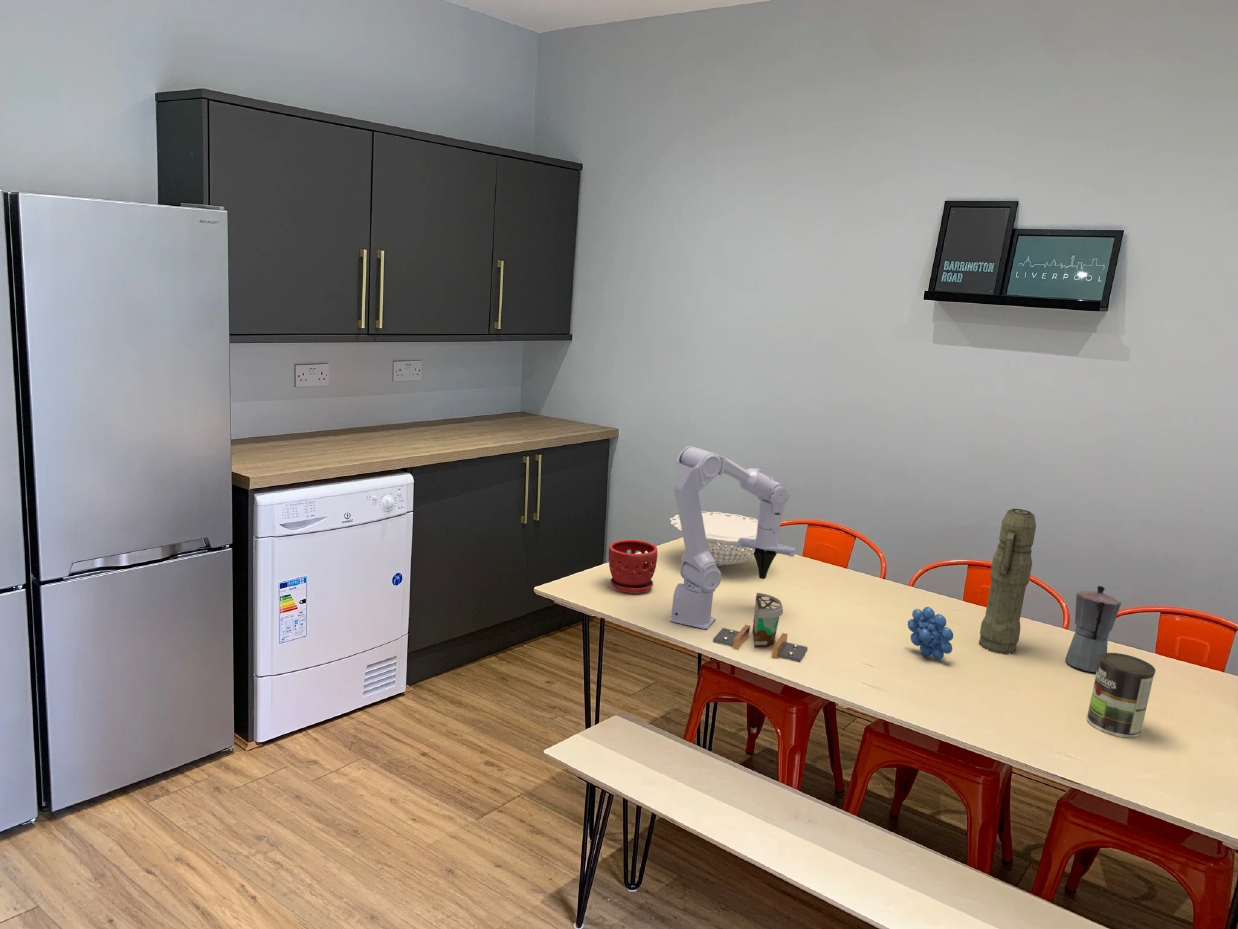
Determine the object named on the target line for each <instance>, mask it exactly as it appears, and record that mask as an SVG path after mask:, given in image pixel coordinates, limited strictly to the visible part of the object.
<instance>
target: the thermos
mask: <svg viewBox="0 0 1238 929" xmlns="http://www.w3.org/2000/svg"><path fill="white" fill-rule="evenodd" d="M1035 516H1036V515H1035V514H1034V513H1033V512H1031V511H1029V510H1026V509H1021V508H1011V509H1009V510H1007V511H1006V512H1005V514H1004V517H1003V518H1002V520H1001V526H1000V533H999V537H998V538H999V543H998V544H997V549H996V551H995V553H994V554H993V556H992V557H993V558H992V562H991V563H992V564H991V568H990V574H989V575H990V576H989V577H990V580H991V581H990V587H989V593H988V598H987V602H986V603H987V604H986V609H985V615H984V618H983V619H982V621H981V625H980V630H979V634H980V637H979V641H978V645H979V646H980V645H981V646H982V649H984V648H985V649H984V650H986V649H988V650H987V651H989V652H992V651H993V652H992V653H995V652H997V653H996V654H1000V653H1002V654H1001V655H1012V653H1013V652H1015V651H1016V652H1017V646H1018V642H1019V640H1020V634H1021V616H1022V609H1023V605H1024V599H1025V598H1024V597H1025V594H1026V588H1027V586H1028V585H1029V583H1030V577H1031V573H1032V572H1031V571H1032V568H1033V559H1032V546H1033V545H1034V539H1035V534H1036V528H1037V523H1036V517H1035ZM981 646H980V647H981ZM1016 652H1015V653H1016ZM1009 653H1010V654H1009ZM1013 654H1014V653H1013Z"/></svg>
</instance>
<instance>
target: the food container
mask: <svg viewBox="0 0 1238 929" xmlns="http://www.w3.org/2000/svg"><path fill="white" fill-rule="evenodd" d="M755 594H756V595H755V605H754V614H753V621H752V622H753V623H752V630H751V631H752V632H751V633H752V640H753V645H754V646H753V648H756V649H761V648H762V649H763V648H764V649H765V648H766V649H767V648H770V647H772V646H774V645H775V640H776V636H777V630H778V625H779V622H780V621H779V620H780V617H781V616H782V615H783V614H784V609H783V608H784V607H783V606H784V605H783V604H782V601H781V600H780V599H778V598H777V597H775V596H773V595H770V594H766V593H763V592H762V593H761V592H756V593H755Z"/></svg>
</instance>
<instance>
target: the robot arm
mask: <svg viewBox="0 0 1238 929" xmlns="http://www.w3.org/2000/svg"><path fill="white" fill-rule="evenodd" d="M675 462H676V467H677V470H676V474H675V475H676V477H675V481H674V485H673V486H674V496H675V500H676V506H677V507H676V508H677V511H678V515H679V517H680V523H681V528H682V531H681V533H682V538H683V539H682V540H683V543H684V550H685V551H684V553H683V554H682V555H681V556H680V559H681V564H680V570H679V573H680V576H681V578H682V579H683V583H677V584H676V586H675V588H674V592H673V596H672V605H671V606H672V607H671V616H670V618H669V621H670V622H672V623H676V624H681V625H686V626H690V627H695V628H699V629H703V630H707V629H708V628H709V627H710V626H711V625H712V624H713V623H714V622H715V621H716V617H713V616H712V608H713V607H712V606H713V599H714V592H716V589H717V588H718V587H719V586H720V584H721V582H722V572H721V570H720V569H719V568H718V565H717V564H716V561H715V560H714V558H713V557H712V555H711V554H712V553H711V554H710V553H709V551H708V546H707V540H706V534H705V529H704V523H703V517H702V513H703V512H701V511H702V507H701V500H700V495H699V494H700V493H699V492H701V490H703V489H704V488H706V486H708V485H709V484H710V483H711V482H712V481H713V480H714V479H716V477H717V476H718V475H719V476H722V475H723V474H724V475H726V476H728V477H731V478H733V479H734V480H736V481H739V486H740V488H741V489H743V491H745V492H747V493H750V494H751V495H752V496H755V497H757V499H758V500H760V502H759V509H758V510H759V511H758V519H757V520H758V526H757V534H756V539H746V538H740V539H738V547H747V549H749V548H750V549H751V550H752V549H755V552H753V553H754V555H753V557H754V559H755V561H756V565H757V569H758V579H761V580H766V578H767V575H768V571H769V569H770V568H771V564H772V563H773V561H774V560H775V558H776V556H777V554H780V555H784V556H789V557H791V558H793V557H794V556H795V554H796V547H793V546H788V545H785V544H782V543H779V540H780V539H779V538H780V532H781V531H780V530H781V522H782V516H783V514H782V513H783V512H784V510H785V505H786V503H787V502H788V501H789V498H790V494H789V492H788V491H789V490H788V488H787V487H786V485H785V484H783V483H780V482H777V481H775V478H774V477H773V476H770V475H766V474H764V473H762V472H763V470H762V469H760V468H757V467H755V468H746V469H745V468H743V467H742V466H740V465H739V464H737V463H736V462H734V461H732V460H730V459H729V458H727V457H726V456H723V455H720V454H717V453H715V452H712V451H709V450H706V449H702V448H698V447H697V446H695V445H688V446H686V447H684V448H683V449H682V450H681V452H680V453H679V454H678V457H677V458H676V459H675Z"/></svg>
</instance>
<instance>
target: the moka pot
mask: <svg viewBox="0 0 1238 929" xmlns="http://www.w3.org/2000/svg"><path fill="white" fill-rule="evenodd" d="M1105 589H1106V588H1105V587H1104V586H1101V585H1100V586H1099V585H1098V586H1097V591H1087V590H1086V591H1084V590H1082V591H1080V592H1077V593H1076V594H1075V595H1076V597H1075V600H1076V601H1075V617H1074V618H1075V619H1074V624H1075V625H1076V626H1075V630H1074V631H1075V632H1074V634H1073V637H1072V640H1071V642H1070V645H1069V647H1068V649H1067V653H1066V656H1065V659H1064V660H1065V662H1066V664H1067V665H1069V666H1071V667H1073V668H1076V669H1079V670H1081V671H1085V672H1089V673H1096V672H1097V668H1098V663H1099V655H1101V654H1103V653H1108V642H1109V641H1108V638H1109V635H1110V632H1112V630H1113V628H1114V625H1115V622H1116V620H1117V616H1118V614H1119V611H1120V608H1121V605H1122V602H1121V601H1120V600H1118V599H1117V598H1115V597H1113V596H1111V595H1108V594H1105V593H1104V591H1105Z"/></svg>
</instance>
